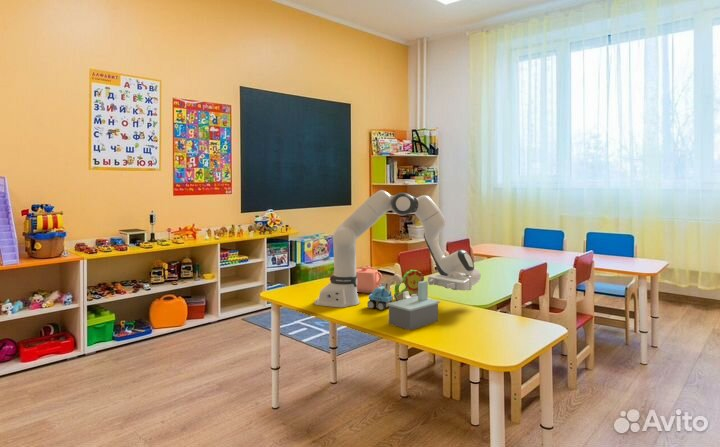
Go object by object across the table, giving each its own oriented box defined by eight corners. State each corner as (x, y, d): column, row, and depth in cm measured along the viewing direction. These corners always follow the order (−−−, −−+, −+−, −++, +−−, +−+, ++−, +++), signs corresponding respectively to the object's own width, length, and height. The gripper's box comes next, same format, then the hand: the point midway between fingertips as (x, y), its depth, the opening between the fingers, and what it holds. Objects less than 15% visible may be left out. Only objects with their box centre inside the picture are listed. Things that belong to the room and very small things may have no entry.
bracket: (412, 310, 214) (412, 294, 213) (403, 307, 220) (403, 292, 219) (433, 306, 221) (433, 291, 220) (423, 303, 227) (423, 288, 226)
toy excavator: (396, 313, 209) (396, 276, 207) (365, 308, 218) (365, 273, 216) (404, 309, 216) (404, 273, 215) (374, 304, 225) (374, 270, 223)
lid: (387, 306, 192) (387, 284, 191) (416, 299, 205) (416, 278, 204) (410, 312, 183) (410, 289, 182) (439, 304, 195) (439, 282, 195)
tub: (388, 323, 193) (388, 305, 192) (416, 315, 205) (416, 298, 204) (410, 330, 184) (410, 310, 183) (437, 321, 196) (438, 303, 195)
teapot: (386, 287, 263) (386, 263, 262) (379, 295, 244) (379, 269, 243) (353, 285, 268) (353, 262, 267) (343, 293, 249) (343, 268, 248)
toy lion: (397, 301, 229) (397, 272, 228) (393, 299, 235) (393, 270, 233) (425, 299, 234) (425, 270, 233) (421, 296, 240) (421, 268, 238)
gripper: (438, 270, 221) (420, 274, 212) (474, 276, 206) (456, 281, 197) (438, 283, 222) (419, 287, 212) (474, 290, 207) (456, 295, 197)
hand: (437, 284), depth 204 cm, fingers open, 8 cm apart
